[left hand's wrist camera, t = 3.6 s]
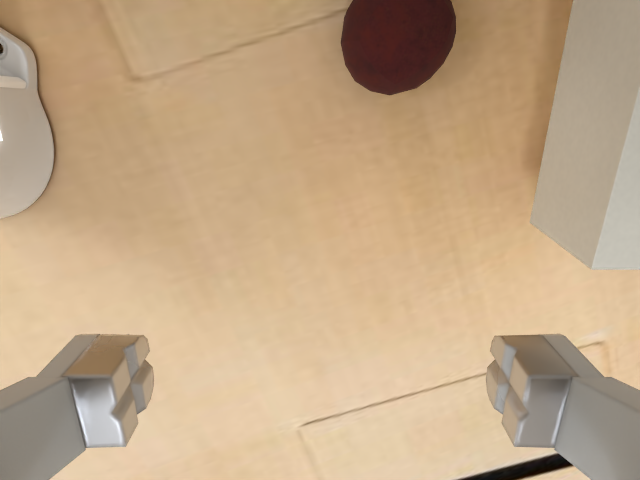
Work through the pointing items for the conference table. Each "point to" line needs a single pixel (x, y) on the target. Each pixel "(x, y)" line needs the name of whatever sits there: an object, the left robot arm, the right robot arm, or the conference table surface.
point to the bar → (595, 140)
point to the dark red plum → (396, 42)
